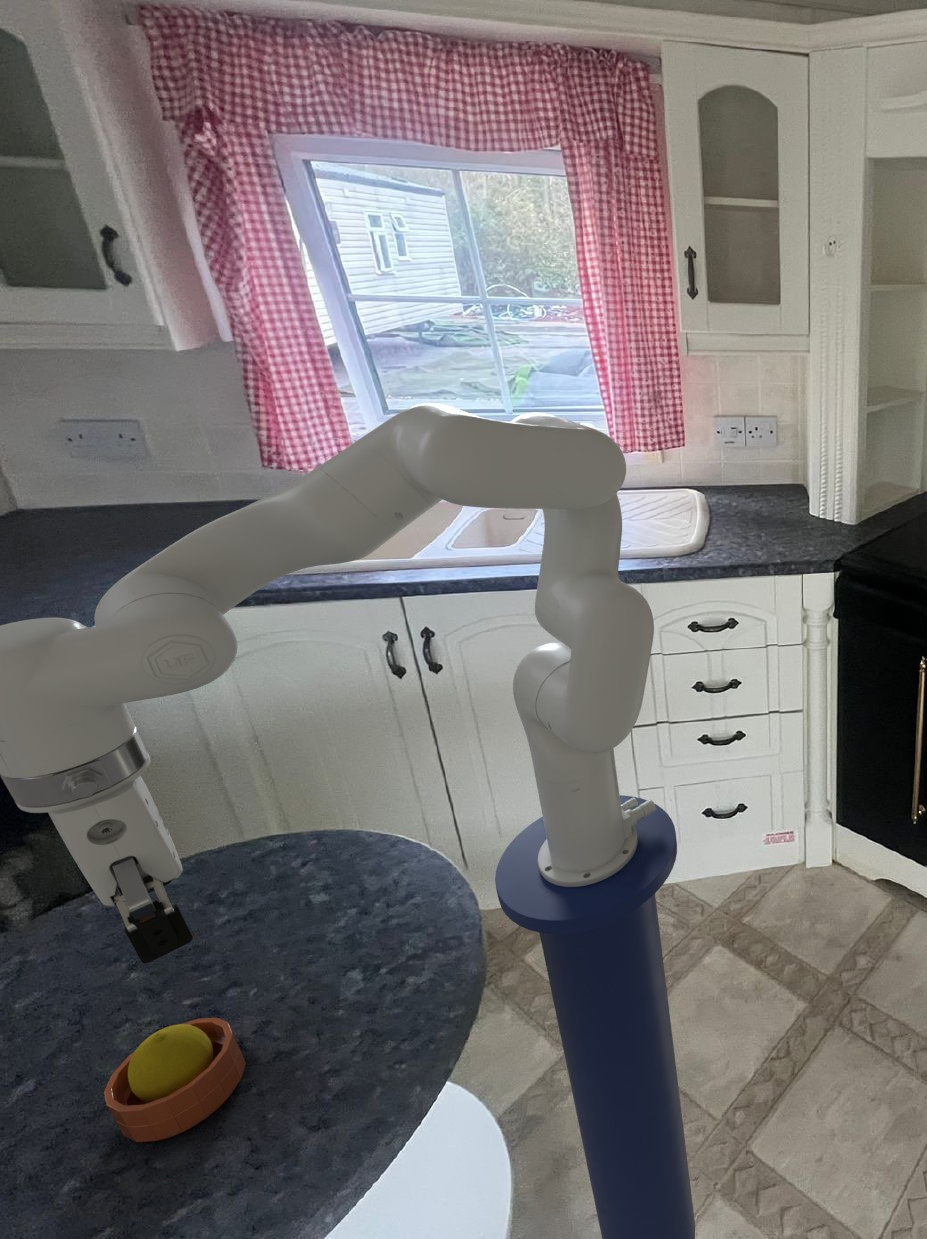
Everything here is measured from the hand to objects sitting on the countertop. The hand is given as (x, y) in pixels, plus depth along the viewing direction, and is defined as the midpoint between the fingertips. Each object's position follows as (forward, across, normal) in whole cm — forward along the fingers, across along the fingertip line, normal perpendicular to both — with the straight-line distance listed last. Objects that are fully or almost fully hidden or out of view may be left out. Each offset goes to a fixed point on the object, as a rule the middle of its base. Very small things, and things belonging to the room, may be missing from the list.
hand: (158, 919), depth 66 cm
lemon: (+20, -1, +3) cm, 20 cm away
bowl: (+20, -1, +4) cm, 20 cm away
